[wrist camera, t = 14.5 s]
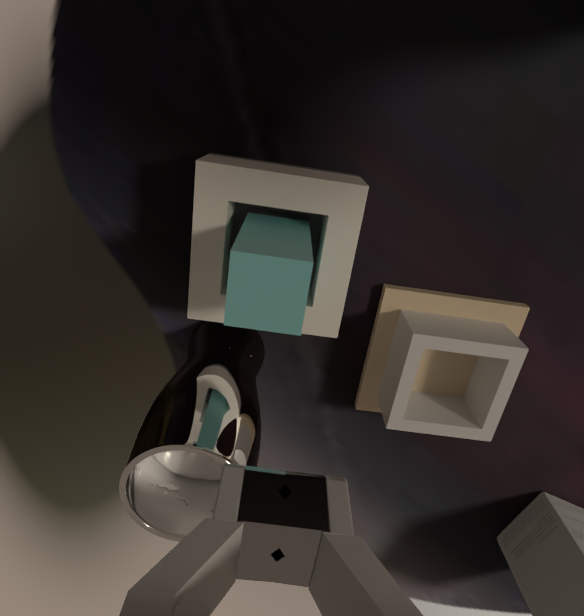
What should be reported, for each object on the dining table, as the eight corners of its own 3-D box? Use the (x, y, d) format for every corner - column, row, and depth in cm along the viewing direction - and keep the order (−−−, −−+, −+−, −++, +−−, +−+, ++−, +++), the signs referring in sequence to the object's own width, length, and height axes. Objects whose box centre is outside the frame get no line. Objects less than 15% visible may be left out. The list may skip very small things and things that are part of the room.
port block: (211, 152, 30) (195, 160, 25) (358, 174, 30) (369, 186, 26) (201, 290, 34) (187, 318, 29) (331, 307, 34) (337, 338, 30)
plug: (250, 207, 30) (230, 250, 21) (308, 216, 31) (313, 262, 21) (244, 263, 32) (223, 325, 23) (299, 271, 32) (300, 335, 23)
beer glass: (260, 393, 38) (239, 556, 24) (178, 376, 37) (108, 532, 23) (279, 321, 35) (267, 458, 21) (191, 301, 34) (120, 429, 21)
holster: (383, 283, 34) (396, 310, 29) (525, 303, 34) (558, 332, 30) (354, 403, 38) (362, 442, 34) (479, 419, 39) (503, 459, 34)
